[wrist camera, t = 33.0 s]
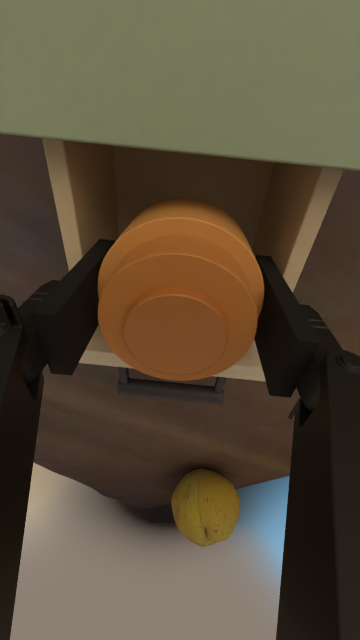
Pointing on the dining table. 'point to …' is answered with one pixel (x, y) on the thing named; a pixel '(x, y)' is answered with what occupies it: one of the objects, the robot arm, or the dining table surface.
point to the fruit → (205, 507)
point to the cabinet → (187, 76)
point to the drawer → (196, 183)
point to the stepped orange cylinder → (180, 291)
